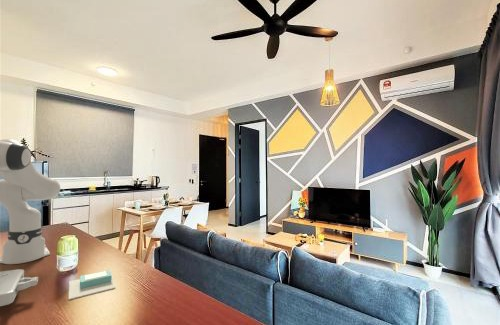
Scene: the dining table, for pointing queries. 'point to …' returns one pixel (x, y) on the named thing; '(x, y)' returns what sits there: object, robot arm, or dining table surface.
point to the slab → (95, 279)
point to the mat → (87, 289)
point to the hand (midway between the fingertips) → (37, 280)
